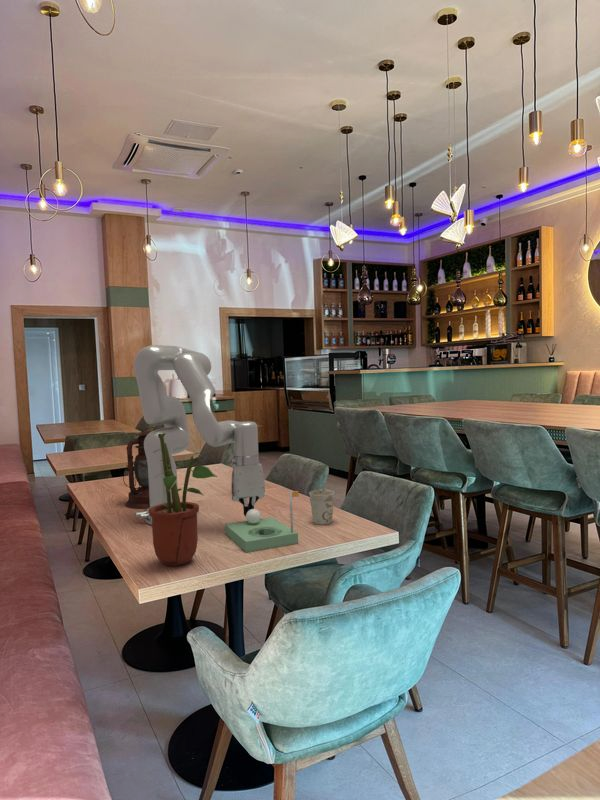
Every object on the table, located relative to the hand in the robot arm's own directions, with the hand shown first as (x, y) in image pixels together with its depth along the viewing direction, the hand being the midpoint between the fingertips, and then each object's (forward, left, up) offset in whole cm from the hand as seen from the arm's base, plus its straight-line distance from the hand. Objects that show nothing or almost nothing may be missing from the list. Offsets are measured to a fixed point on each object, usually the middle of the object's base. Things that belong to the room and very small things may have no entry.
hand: (249, 517), depth 177 cm
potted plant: (-25, -17, -4) cm, 31 cm away
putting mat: (0, -10, -4) cm, 11 cm away
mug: (+24, -2, -4) cm, 24 cm away
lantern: (-22, +54, -4) cm, 58 cm away
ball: (0, -4, +1) cm, 5 cm away
